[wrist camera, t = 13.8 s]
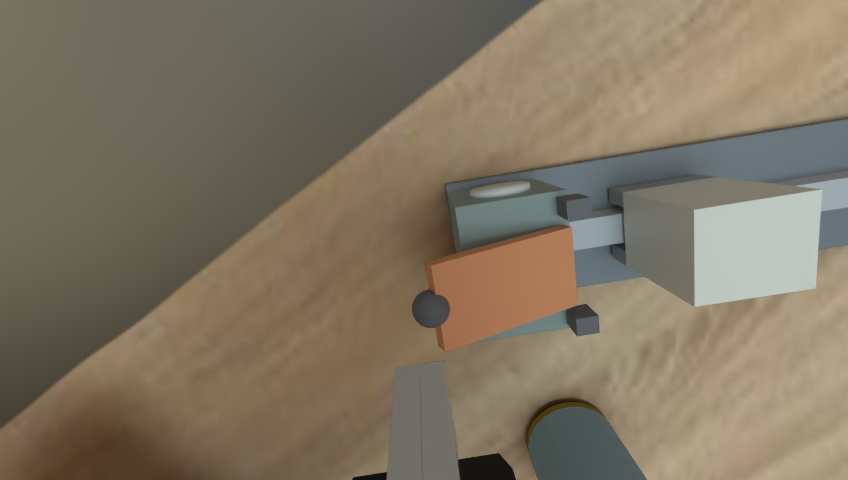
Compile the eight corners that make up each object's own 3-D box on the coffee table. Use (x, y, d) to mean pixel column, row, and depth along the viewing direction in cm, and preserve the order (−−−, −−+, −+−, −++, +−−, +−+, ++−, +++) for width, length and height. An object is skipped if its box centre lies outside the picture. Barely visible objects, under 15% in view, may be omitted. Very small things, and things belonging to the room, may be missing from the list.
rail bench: (462, 298, 32) (479, 364, 22) (444, 183, 30) (456, 202, 20) (882, 233, 31) (1084, 273, 21) (895, 109, 29) (1126, 93, 19)
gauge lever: (561, 298, 23) (414, 348, 20) (555, 223, 22) (399, 265, 19) (584, 308, 22) (428, 364, 19) (578, 228, 21) (412, 274, 18)
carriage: (612, 257, 29) (694, 306, 21) (608, 188, 28) (694, 209, 19) (696, 244, 29) (815, 288, 20) (696, 174, 28) (822, 189, 19)
